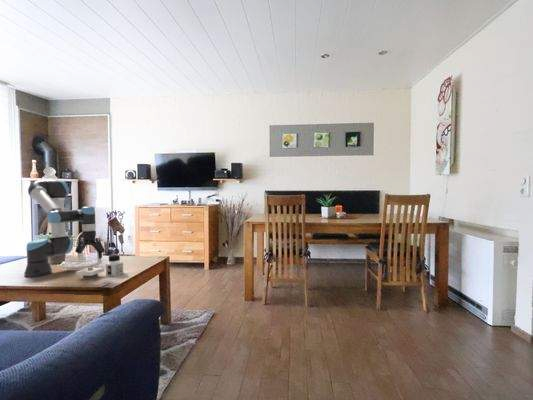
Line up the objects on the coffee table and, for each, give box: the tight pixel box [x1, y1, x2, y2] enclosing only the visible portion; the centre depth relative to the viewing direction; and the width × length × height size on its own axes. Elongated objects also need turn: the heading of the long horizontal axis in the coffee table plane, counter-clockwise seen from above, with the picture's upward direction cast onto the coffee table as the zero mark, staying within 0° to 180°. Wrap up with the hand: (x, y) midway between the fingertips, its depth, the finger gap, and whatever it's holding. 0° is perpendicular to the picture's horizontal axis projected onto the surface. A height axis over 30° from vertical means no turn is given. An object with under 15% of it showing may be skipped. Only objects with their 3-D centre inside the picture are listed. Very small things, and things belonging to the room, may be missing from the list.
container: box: [105, 254, 124, 277], centre depth 205 cm, size 8×8×13 cm
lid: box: [75, 266, 105, 276], centre depth 197 cm, size 11×11×4 cm
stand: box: [82, 273, 99, 280], centre depth 197 cm, size 6×6×3 cm
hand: (90, 263), depth 197 cm, fingers open, 13 cm apart
